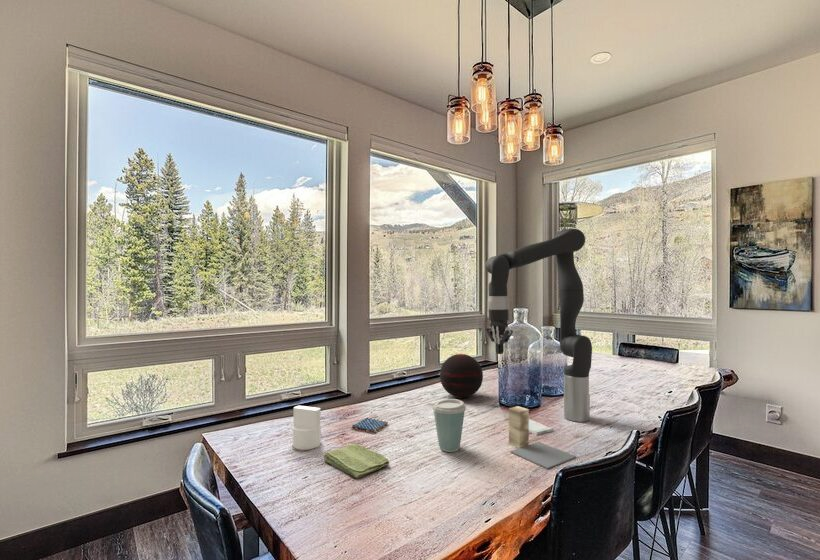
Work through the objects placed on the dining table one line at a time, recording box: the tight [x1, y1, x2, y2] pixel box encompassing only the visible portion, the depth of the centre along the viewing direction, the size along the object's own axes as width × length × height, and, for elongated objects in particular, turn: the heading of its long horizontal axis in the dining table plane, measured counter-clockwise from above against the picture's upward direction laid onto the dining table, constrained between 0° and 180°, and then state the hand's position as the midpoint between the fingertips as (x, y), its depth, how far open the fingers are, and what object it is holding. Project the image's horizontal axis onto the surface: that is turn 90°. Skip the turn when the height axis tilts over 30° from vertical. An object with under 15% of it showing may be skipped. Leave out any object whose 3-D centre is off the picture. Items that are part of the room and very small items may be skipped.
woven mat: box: [351, 417, 389, 435], centre depth 153 cm, size 10×11×2 cm
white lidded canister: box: [292, 405, 322, 451], centre depth 137 cm, size 9×9×12 cm
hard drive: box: [529, 418, 554, 436], centre depth 154 cm, size 2×8×12 cm
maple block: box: [508, 405, 530, 449], centre depth 138 cm, size 4×4×12 cm
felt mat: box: [510, 441, 577, 470], centre depth 130 cm, size 14×14×1 cm
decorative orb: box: [439, 353, 484, 399], centre depth 194 cm, size 20×20×20 cm
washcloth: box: [323, 443, 390, 479], centre depth 123 cm, size 13×18×3 cm
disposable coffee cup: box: [432, 398, 466, 453], centre depth 135 cm, size 11×11×15 cm
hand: (499, 353), depth 157 cm, fingers closed
